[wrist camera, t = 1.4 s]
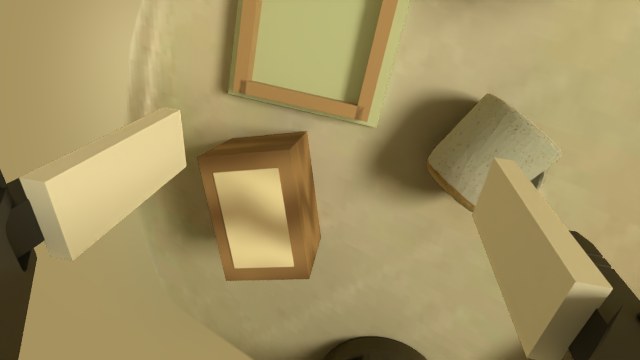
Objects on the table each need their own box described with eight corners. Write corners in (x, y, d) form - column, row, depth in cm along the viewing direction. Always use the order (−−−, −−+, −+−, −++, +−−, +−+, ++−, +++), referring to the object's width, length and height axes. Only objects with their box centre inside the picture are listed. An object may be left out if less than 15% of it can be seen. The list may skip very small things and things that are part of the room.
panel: (376, 126, 33) (376, 132, 30) (230, 93, 34) (218, 95, 31) (434, -93, 27) (442, -111, 24) (254, -127, 28) (241, -148, 25)
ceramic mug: (414, 155, 33) (428, 181, 26) (476, 88, 31) (511, 96, 23) (492, 218, 35) (526, 259, 27) (559, 159, 32) (616, 187, 25)
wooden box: (321, 236, 38) (308, 279, 30) (253, 239, 39) (225, 281, 32) (307, 131, 34) (289, 149, 27) (233, 138, 36) (195, 158, 28)
